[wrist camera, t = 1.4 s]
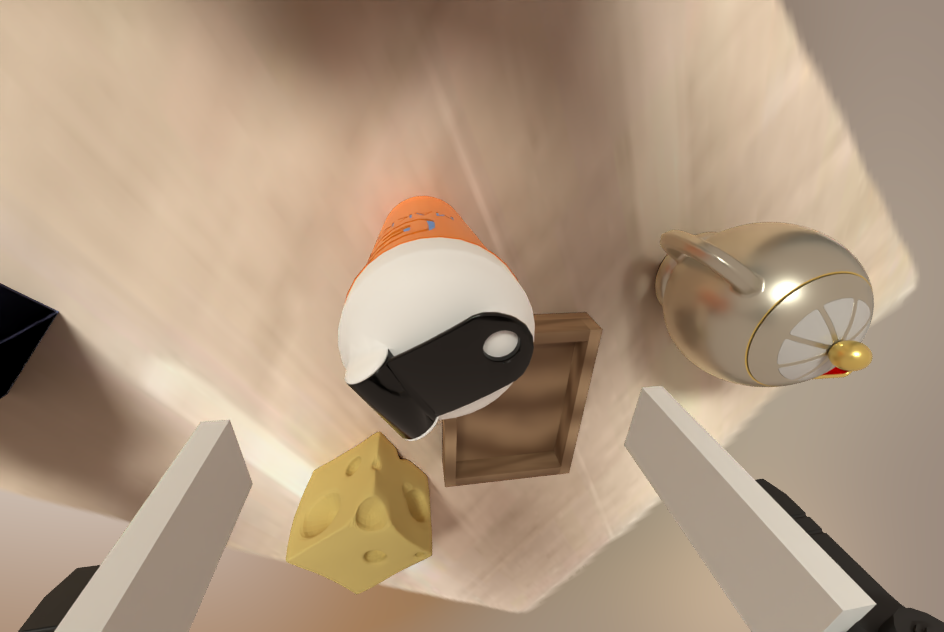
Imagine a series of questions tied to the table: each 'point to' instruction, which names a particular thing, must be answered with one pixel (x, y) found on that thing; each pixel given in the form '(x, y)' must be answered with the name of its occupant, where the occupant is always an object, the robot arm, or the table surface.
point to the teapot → (765, 303)
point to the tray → (528, 410)
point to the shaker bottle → (433, 321)
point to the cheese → (362, 517)
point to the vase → (19, 333)
